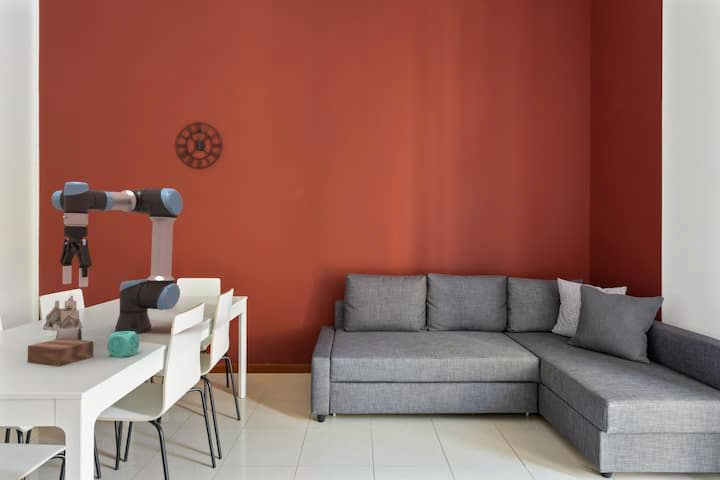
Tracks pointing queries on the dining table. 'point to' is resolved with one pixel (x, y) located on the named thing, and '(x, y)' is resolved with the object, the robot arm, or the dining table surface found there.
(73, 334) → the ceramic mug
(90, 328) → the dining table surface
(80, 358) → the walnut block
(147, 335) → the dining table surface
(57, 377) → the dining table surface
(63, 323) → the ceramic cottage
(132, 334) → the decorative dice
